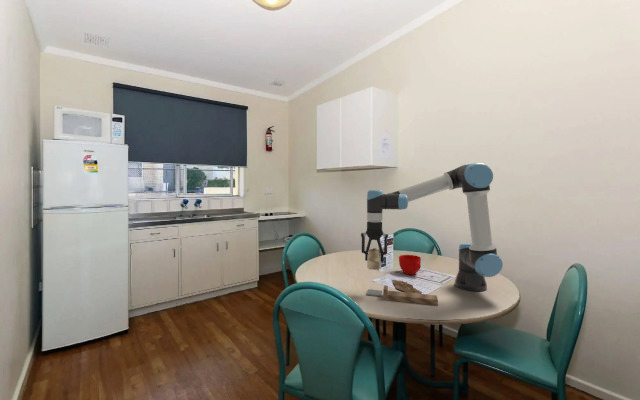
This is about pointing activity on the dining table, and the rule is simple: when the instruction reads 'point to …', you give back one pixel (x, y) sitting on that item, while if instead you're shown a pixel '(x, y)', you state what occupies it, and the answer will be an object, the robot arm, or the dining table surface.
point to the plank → (409, 297)
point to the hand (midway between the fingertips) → (374, 267)
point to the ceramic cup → (409, 264)
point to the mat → (374, 292)
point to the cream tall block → (374, 259)
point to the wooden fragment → (405, 287)
